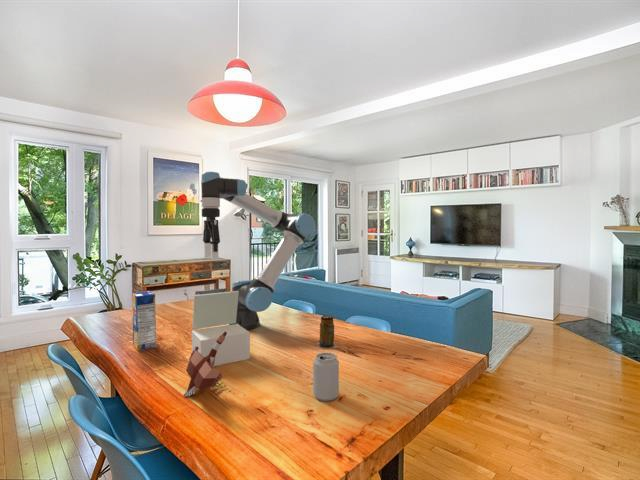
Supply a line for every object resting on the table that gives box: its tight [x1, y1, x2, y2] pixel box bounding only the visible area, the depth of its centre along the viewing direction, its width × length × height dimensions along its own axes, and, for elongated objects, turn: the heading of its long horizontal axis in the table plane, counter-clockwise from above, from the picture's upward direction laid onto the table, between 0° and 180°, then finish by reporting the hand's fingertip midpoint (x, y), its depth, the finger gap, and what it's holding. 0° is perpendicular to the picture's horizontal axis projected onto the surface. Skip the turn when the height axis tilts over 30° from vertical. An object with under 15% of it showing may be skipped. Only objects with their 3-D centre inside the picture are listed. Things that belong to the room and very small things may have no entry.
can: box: [312, 352, 340, 402], centre depth 102 cm, size 8×8×12 cm
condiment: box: [316, 314, 339, 350], centre depth 147 cm, size 7×8×12 cm
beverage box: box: [131, 290, 157, 352], centre depth 146 cm, size 7×11×22 cm, turn 36°
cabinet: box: [191, 324, 251, 367], centre depth 133 cm, size 18×14×10 cm
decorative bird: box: [183, 332, 227, 398], centre depth 106 cm, size 28×18×15 cm, turn 33°
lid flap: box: [192, 287, 239, 330], centre depth 141 cm, size 17×14×9 cm
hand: (211, 258), depth 153 cm, fingers open, 11 cm apart
